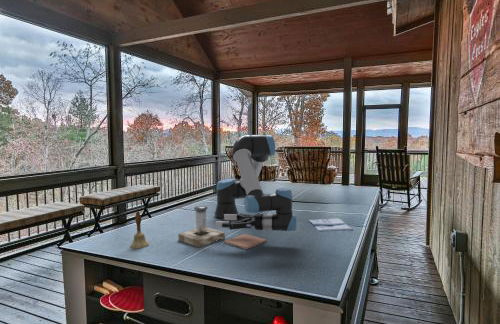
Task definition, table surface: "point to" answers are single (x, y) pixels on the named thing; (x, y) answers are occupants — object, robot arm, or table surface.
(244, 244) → the terracotta mat
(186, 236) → the frame
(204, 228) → the aluminium plug
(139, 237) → the hand bell
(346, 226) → the white folded cloth
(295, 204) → the table surface
